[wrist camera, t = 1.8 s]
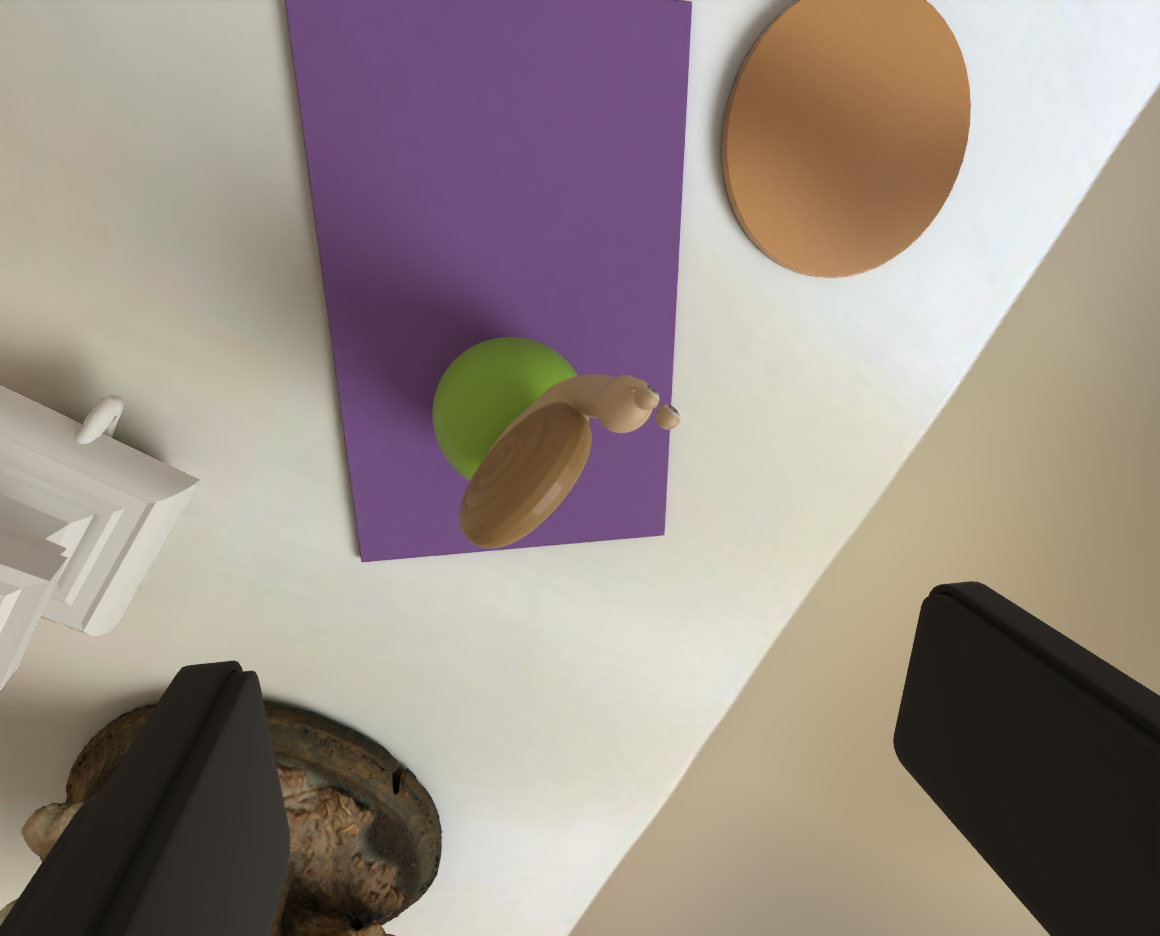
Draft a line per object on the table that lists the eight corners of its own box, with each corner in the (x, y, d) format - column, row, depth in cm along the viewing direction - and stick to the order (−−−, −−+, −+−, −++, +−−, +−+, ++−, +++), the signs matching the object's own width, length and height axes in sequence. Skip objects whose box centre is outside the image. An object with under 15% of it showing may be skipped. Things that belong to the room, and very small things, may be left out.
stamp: (42, 330, 21) (-199, 384, 13) (239, 429, 23) (133, 525, 15) (-59, 541, 23) (-325, 701, 15) (135, 615, 25) (-8, 786, 17)
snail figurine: (617, 371, 25) (752, 477, 14) (512, 488, 26) (560, 676, 15) (514, 275, 23) (575, 310, 12) (404, 406, 24) (365, 551, 13)
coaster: (733, -29, 21) (739, -34, 21) (986, -8, 23) (997, -13, 23) (711, 278, 25) (716, 279, 24) (933, 275, 26) (942, 276, 26)
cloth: (283, -25, 19) (280, -29, 19) (689, 4, 21) (692, 0, 21) (362, 559, 26) (361, 562, 26) (662, 532, 28) (664, 535, 28)
